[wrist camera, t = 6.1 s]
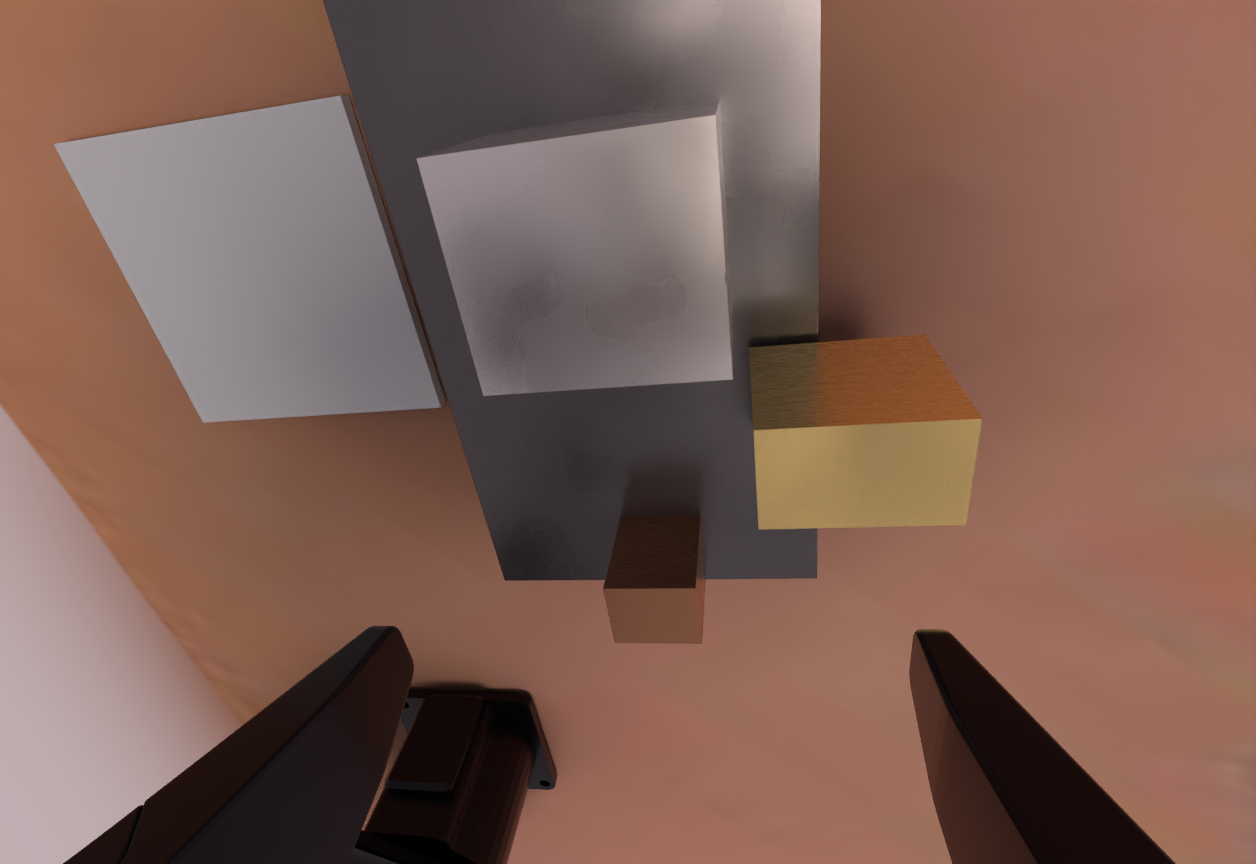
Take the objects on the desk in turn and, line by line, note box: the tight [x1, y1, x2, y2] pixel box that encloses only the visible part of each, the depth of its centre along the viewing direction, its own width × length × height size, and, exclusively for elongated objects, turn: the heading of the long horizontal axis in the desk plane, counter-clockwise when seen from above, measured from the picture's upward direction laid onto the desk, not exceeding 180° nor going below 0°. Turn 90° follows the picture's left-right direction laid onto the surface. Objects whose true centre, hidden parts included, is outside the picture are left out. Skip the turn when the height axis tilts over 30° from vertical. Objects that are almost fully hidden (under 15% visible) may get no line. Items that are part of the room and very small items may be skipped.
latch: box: [749, 334, 982, 530], centre depth 14 cm, size 2×4×4 cm, turn 98°
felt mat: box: [54, 95, 446, 423], centre depth 19 cm, size 9×9×1 cm
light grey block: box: [416, 99, 733, 396], centre depth 13 cm, size 4×5×4 cm
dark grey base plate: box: [323, 0, 821, 644], centre depth 16 cm, size 18×10×6 cm, turn 8°
